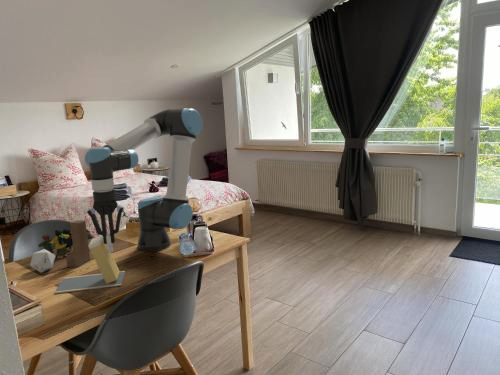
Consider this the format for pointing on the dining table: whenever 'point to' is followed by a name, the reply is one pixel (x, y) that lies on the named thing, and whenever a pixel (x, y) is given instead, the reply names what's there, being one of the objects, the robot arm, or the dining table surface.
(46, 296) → the dining table surface
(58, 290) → the felt mat
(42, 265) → the die
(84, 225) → the wooden block
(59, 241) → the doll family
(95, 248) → the ochre slab
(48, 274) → the dining table surface
